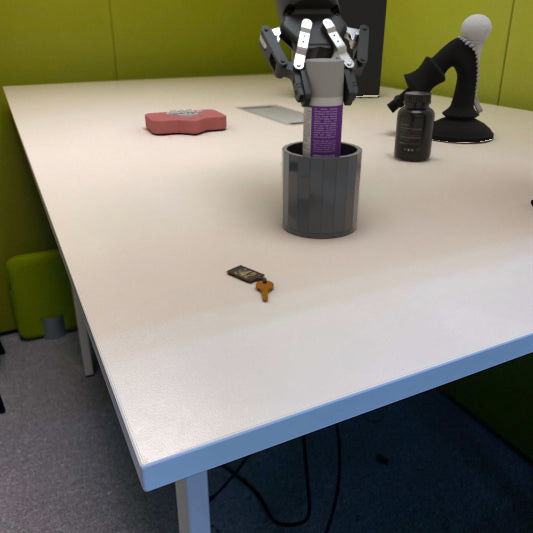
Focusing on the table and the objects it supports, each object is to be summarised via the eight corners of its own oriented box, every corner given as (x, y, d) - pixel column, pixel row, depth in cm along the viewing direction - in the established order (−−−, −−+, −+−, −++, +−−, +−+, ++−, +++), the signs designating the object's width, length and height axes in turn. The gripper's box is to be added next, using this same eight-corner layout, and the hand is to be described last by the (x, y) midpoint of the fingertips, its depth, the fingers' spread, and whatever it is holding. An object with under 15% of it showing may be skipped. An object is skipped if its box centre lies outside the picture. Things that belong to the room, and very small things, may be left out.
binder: (372, 92, 193) (380, -10, 179) (379, 98, 179) (388, -12, 166) (295, 92, 193) (297, -9, 180) (296, 98, 180) (298, -11, 166)
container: (345, 183, 70) (352, 59, 64) (327, 192, 67) (334, 62, 60) (313, 178, 73) (317, 57, 66) (294, 186, 69) (297, 60, 63)
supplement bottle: (398, 152, 109) (404, 89, 104) (433, 155, 106) (441, 91, 101) (389, 160, 103) (395, 93, 98) (425, 163, 101) (434, 96, 96)
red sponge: (155, 120, 120) (142, 111, 133) (157, 138, 122) (144, 127, 135) (232, 115, 127) (213, 106, 139) (233, 132, 128) (213, 122, 141)
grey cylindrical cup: (317, 207, 78) (319, 137, 74) (372, 225, 71) (378, 148, 67) (266, 223, 72) (265, 148, 68) (321, 244, 65) (324, 162, 61)
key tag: (224, 270, 59) (223, 265, 58) (248, 264, 60) (247, 259, 60) (264, 301, 52) (264, 295, 52) (290, 293, 54) (290, 288, 54)
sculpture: (500, 144, 115) (523, 13, 105) (386, 141, 118) (397, 14, 108) (484, 130, 129) (503, 13, 119) (382, 128, 132) (392, 14, 122)
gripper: (251, -37, 64) (274, 82, 59) (366, -36, 67) (398, 79, 61) (244, 12, 71) (263, 123, 66) (348, 12, 74) (375, 119, 68)
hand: (328, 101), depth 64 cm, fingers closed on container, 4 cm apart
